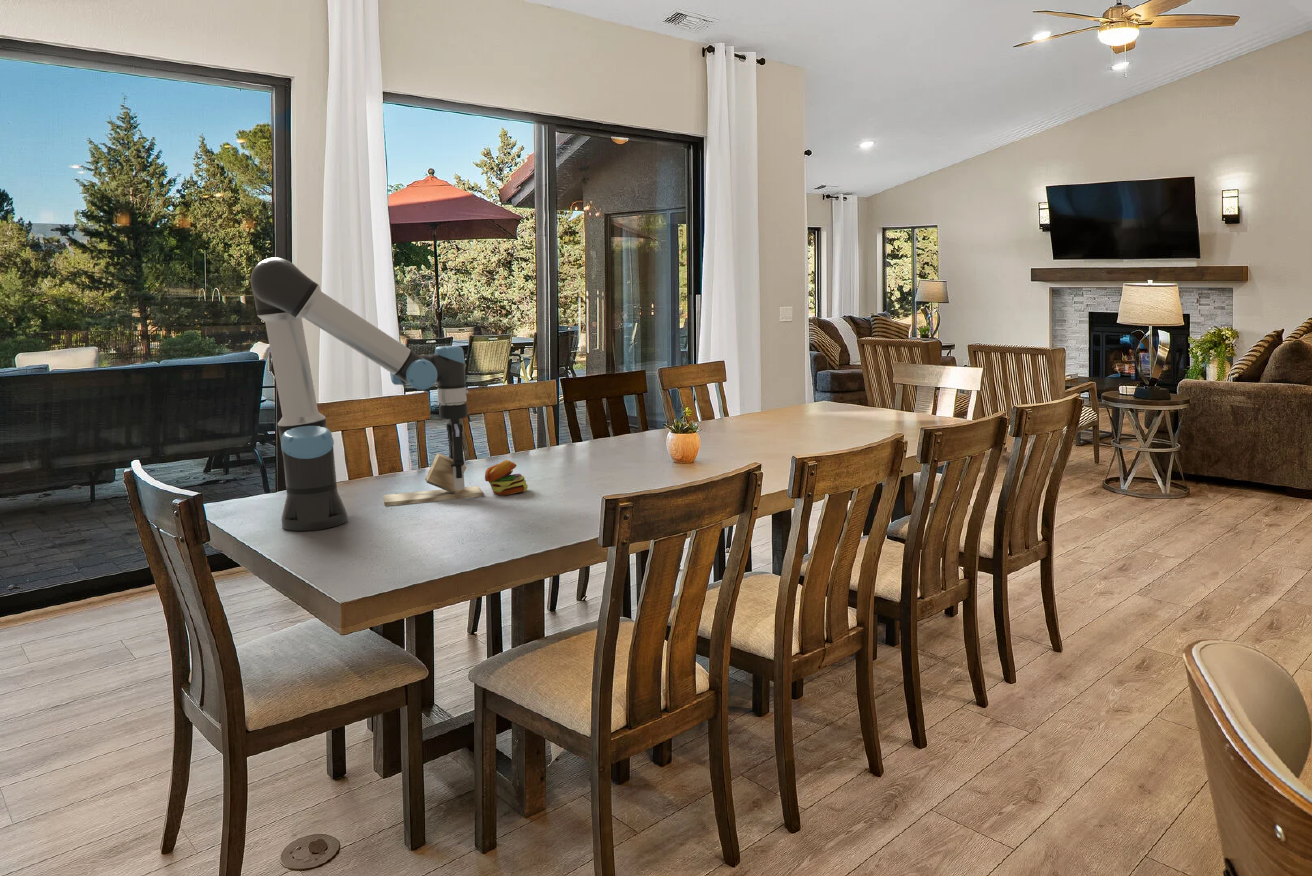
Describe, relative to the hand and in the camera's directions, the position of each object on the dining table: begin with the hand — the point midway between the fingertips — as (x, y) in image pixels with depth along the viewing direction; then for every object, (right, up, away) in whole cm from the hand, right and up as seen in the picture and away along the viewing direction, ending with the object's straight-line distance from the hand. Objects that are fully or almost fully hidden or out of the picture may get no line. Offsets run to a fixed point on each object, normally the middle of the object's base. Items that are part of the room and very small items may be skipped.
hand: (458, 487), depth 253 cm
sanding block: (-5, 0, -2) cm, 5 cm away
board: (-6, -3, -2) cm, 7 cm away
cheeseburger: (+13, -2, +2) cm, 13 cm away
